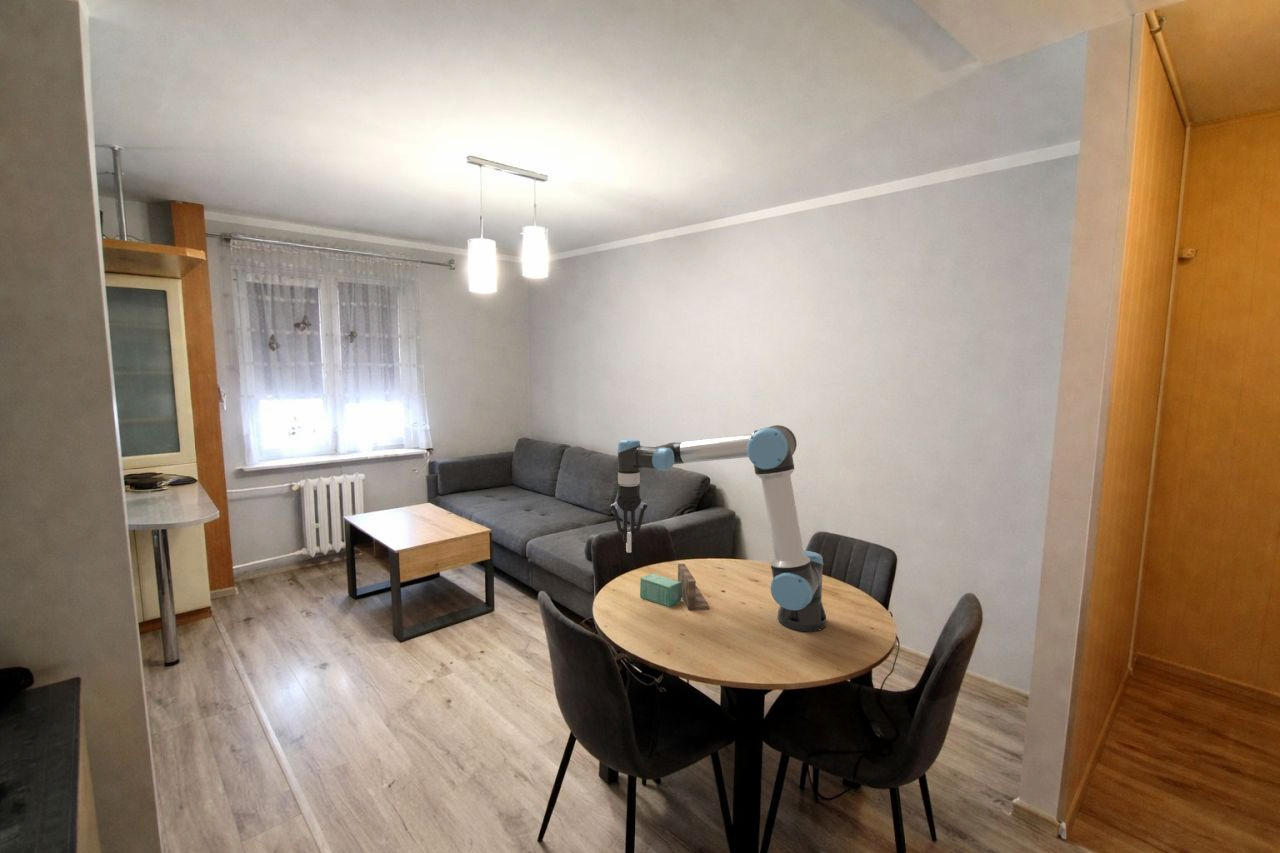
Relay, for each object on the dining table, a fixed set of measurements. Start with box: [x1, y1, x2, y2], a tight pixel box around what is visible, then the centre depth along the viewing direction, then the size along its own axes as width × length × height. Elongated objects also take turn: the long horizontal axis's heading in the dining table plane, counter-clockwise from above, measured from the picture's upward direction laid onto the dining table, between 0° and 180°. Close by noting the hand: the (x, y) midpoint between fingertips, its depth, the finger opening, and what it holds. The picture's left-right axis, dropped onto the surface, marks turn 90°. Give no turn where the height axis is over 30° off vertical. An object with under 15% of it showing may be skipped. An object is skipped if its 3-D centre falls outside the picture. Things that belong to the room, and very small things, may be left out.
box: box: [639, 572, 682, 608], centre depth 196 cm, size 7×14×8 cm, turn 50°
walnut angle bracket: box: [677, 563, 710, 611], centre depth 196 cm, size 18×7×10 cm, turn 8°
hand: (628, 551), depth 192 cm, fingers closed
